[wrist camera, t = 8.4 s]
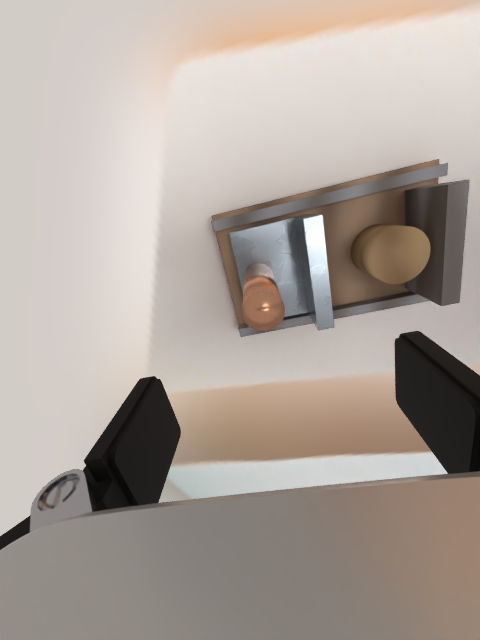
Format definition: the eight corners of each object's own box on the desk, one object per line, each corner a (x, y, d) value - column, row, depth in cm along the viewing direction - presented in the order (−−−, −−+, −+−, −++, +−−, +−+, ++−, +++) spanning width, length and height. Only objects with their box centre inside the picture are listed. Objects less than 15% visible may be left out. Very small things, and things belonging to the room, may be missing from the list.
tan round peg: (400, 218, 27) (431, 219, 22) (400, 267, 28) (429, 277, 24) (349, 230, 27) (369, 233, 23) (352, 276, 29) (372, 289, 24)
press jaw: (307, 214, 27) (345, 215, 16) (318, 306, 30) (356, 357, 20) (230, 232, 28) (217, 246, 17) (250, 319, 31) (250, 375, 21)
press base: (429, 161, 26) (494, 143, 19) (425, 295, 31) (475, 319, 24) (213, 215, 29) (201, 217, 22) (242, 331, 34) (240, 362, 27)
